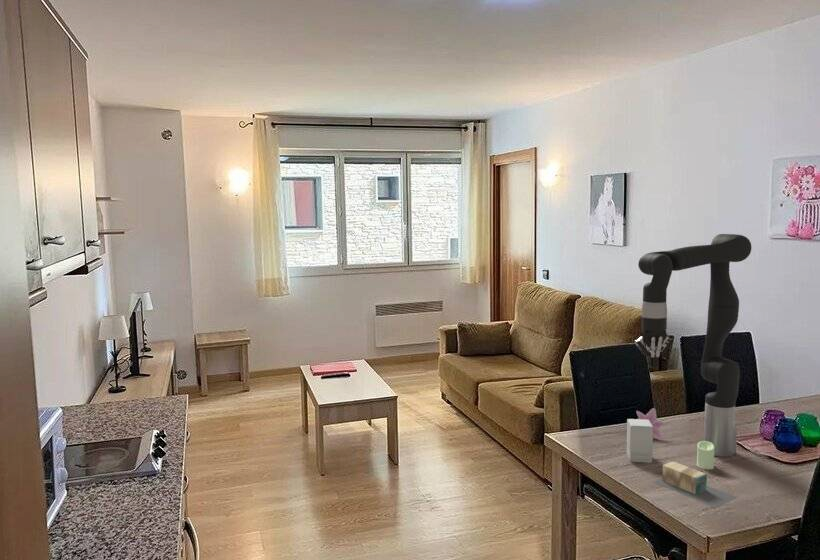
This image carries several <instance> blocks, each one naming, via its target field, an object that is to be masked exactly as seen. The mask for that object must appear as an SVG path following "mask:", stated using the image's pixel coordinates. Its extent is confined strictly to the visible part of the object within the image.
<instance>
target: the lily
mask: <svg viewBox="0 0 820 560" xmlns="http://www.w3.org/2000/svg"><path fill="white" fill-rule="evenodd" d="M635 412H636V415H637V417H638V418H637V419H646V420H649V421H650V423H651V424H652V426H653V438H656V439H657V440H659V441H663V436H662V433H661V431H660V428H662V427H664V426H665V425H666V424H665V423H664V422H663V421H660V420H657V410H656V408H655V407H653V408H651V409H650V410H649V411H648V412H647V413H646V414H644V413H643V412H641V411H639V410H636V411H635Z"/></svg>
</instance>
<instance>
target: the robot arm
mask: <svg viewBox="0 0 820 560" xmlns="http://www.w3.org/2000/svg"><path fill="white" fill-rule="evenodd" d="M751 252H752V243H751V241H750V239H749V238H748V237H747V236H745V235H742V234H736V233H735V234H733V233H732V234H731V233H719V234H717V235H716V236H714V237H713V239H712V240H711V244H705V245H704V244H703V245H701V244H700V245H691V246H684V247H679V248H675V249H671V250H664V251H663V250H662V251H661V250H660V251H652V252H648V253H645V254H643V255H642V256H641V257H640V258H639V259H638V269H639V271H640V272H642V274H645V275H647V276H652V278H651V280H650V282H647V283H645V284H644V285H643V288H642V306H641V334H640V335H639V336H640V337H639V338H637V339H634V340H633V343H634V345H636V347H637V349H638V350H639V351H640V353H642V355H645V356H647V365H648V367H649V368H650V369H658V367H659V357H660V356H664V355H665V354H666V353H667V351H668V350H669V349H670V347H671V346H672V345H673V344H674V339H672V338H670V337H669V336H668V334H667V328H668V327H667V326H668V324H667V323H668V306H667V305H668V304H667V296H668V295H667V291H668V286H669V284H670V280H671V276H672V273H673V272H675V271H676V272H677V271H678V272H679V271H683V270H688V269H691V268H696V267H701V266H705V265H710V268H709V269H710V280H709V281H710V283H709V284H710V285H709V299H708V306H707V307H708V308H707V322H706V323H707V324H706V333H705V342H704V346H703V351H702V358H701V361H700V362H701V363H700V374H701V376H702V378H703V379H704V380H705V381H707V382H710V383H713V384H715V385H717V386H716V391H711V392H708V393H706V394H705V398H704V400H705V401H704V428H703V429H704V430H703V433H704V434H703V441H708V442H711V443H712V444H713V445H714V457H720V458H721V457H723V458H724V457H725V458H727V457H732V456H733V455H736V454H737V442H738V441H737V440H738V428H737V426H736V425H735V420H736V419H735V418H736V417H735V416H736V401H737V398H738V397H739V387H740V379H741V371H740V366H739V364H738V363H737V362H736V361H734V359H733V360H732V359H728V358H725V357H723V356H722V355H723V346H724V344H725V340H726V339H727V337H728V336H729V334H730V333H731V332H732V331H733V329H734V328H735V327H736V325H737V323H738V321H739V319H738V318H739V312H740V298H739V296H738V294H737V291H736V289H735V287H734V284H733V283H732V280H731V275H730V263H737V262H738V263H740V262H743V261H745V260H746V259H747V258H749V256H750V255H751ZM644 344H645V346H644Z"/></svg>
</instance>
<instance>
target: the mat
mask: <svg viewBox="0 0 820 560" xmlns="http://www.w3.org/2000/svg"><path fill="white" fill-rule="evenodd" d="M653 483H655V484H656V485H659V486H662V487H664V488H666V489H669V490H671V491H673V492H676V493H679V494H681V495H683V496H686V497H688V498H690V499H692V500H695V501H697V502H700V503H702V504H705V505H707V506H710V507H712V508H714V509H715V508H717V507H720V506H721V505H724V504H725V503H728V502H730V501H732V500H735V499H737V498H738V497H737V496H734V495H732V494H730V493H727V492H724V491H723V490H719V489H717V488H714V487H712V486H709V485H708V484H706V490H705V491H703V492H701V493H699V494H694V493H691V492H689V491H686V490H684V489H682V488H679V487H677V486H674V485H672V484H669V483H667V482H665V481H662V478H658V479H656V480H653Z"/></svg>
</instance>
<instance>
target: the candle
mask: <svg viewBox="0 0 820 560" xmlns="http://www.w3.org/2000/svg"><path fill="white" fill-rule="evenodd" d="M696 448H697V449H696V466H697V467H698V468H700V469H702V470H713V469H714V468H715V456H714V445H713V444H712V443H711V442H708V441H704V440H700V441H699V442H698V443H697V446H696Z"/></svg>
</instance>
